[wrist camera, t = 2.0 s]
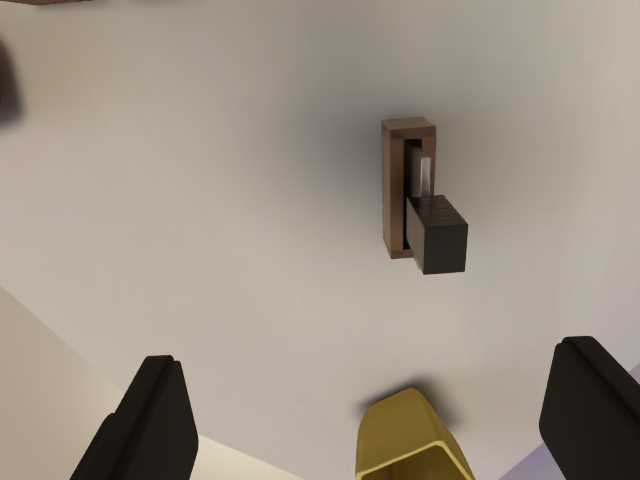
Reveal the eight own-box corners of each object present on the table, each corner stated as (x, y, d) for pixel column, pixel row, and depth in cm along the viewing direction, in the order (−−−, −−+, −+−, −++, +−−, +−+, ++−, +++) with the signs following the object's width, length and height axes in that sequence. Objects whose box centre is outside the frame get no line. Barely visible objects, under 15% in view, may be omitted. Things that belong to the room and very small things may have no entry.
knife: (387, 134, 34) (425, 183, 22) (417, 132, 34) (472, 180, 22) (388, 226, 37) (422, 311, 25) (415, 224, 37) (462, 308, 25)
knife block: (381, 120, 33) (389, 129, 30) (423, 117, 33) (436, 126, 30) (383, 238, 38) (390, 259, 34) (420, 235, 38) (431, 256, 34)
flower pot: (385, 447, 49) (399, 528, 41) (346, 400, 46) (353, 478, 38) (454, 417, 47) (483, 495, 39) (418, 365, 44) (441, 439, 36)
